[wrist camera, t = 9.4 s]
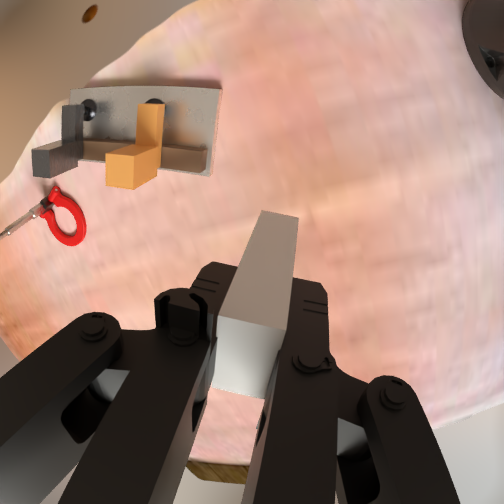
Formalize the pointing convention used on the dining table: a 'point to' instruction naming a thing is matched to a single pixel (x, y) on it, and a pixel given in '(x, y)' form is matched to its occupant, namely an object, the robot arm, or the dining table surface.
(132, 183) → the orange toy chair
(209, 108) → the bolt plate
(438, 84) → the dining table surface
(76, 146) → the fixed leg
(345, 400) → the robot arm
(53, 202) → the tow hook
